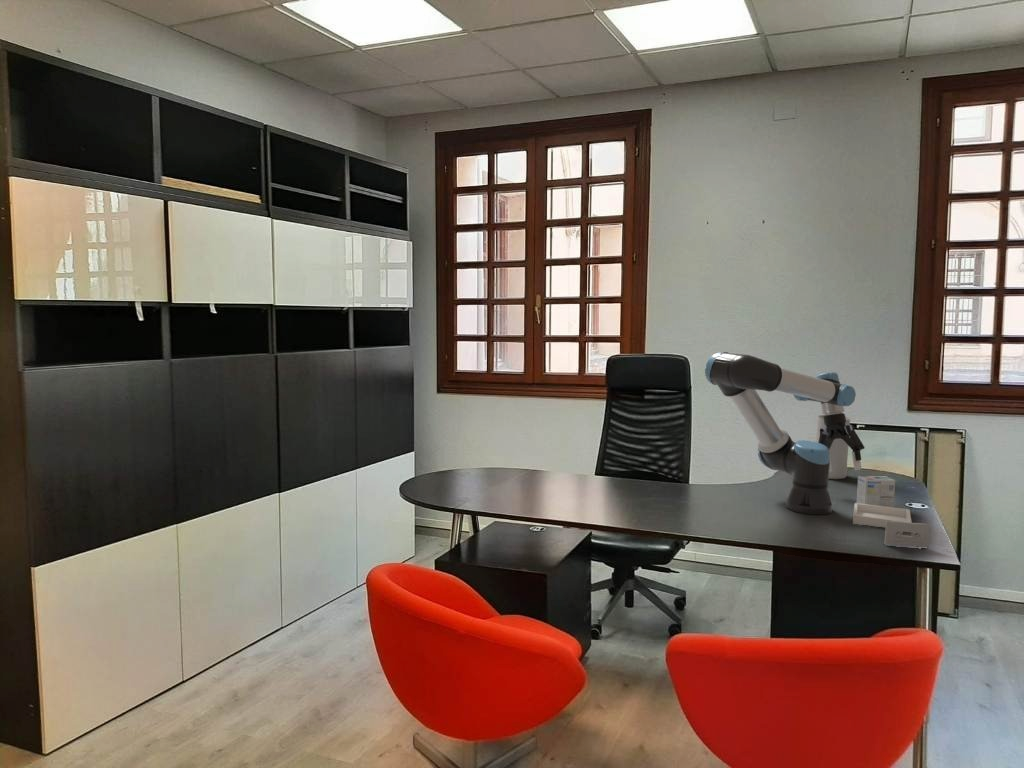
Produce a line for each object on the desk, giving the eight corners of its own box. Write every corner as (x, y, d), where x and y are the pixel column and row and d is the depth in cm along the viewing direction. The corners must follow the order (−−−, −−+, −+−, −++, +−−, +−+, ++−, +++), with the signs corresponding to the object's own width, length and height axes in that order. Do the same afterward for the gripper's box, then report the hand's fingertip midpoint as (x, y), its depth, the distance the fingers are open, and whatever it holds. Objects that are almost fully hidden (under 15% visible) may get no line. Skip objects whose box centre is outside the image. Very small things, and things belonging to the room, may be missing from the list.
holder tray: (911, 531, 238) (911, 522, 238) (852, 524, 245) (853, 515, 245) (908, 517, 253) (909, 509, 253) (854, 511, 260) (854, 502, 260)
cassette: (926, 548, 223) (928, 523, 222) (928, 550, 221) (930, 525, 220) (883, 544, 225) (885, 520, 225) (885, 546, 224) (886, 522, 223)
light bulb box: (884, 504, 270) (886, 475, 268) (894, 509, 263) (896, 480, 262) (855, 504, 269) (857, 475, 268) (864, 509, 263) (866, 480, 261)
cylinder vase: (820, 471, 321) (824, 414, 318) (850, 476, 312) (854, 417, 309) (809, 475, 312) (812, 417, 309) (839, 481, 303) (843, 420, 300)
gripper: (868, 409, 268) (878, 467, 265) (815, 417, 290) (824, 471, 288) (853, 410, 265) (863, 470, 262) (801, 418, 287) (810, 473, 285)
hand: (843, 470), depth 275 cm, fingers open, 13 cm apart
